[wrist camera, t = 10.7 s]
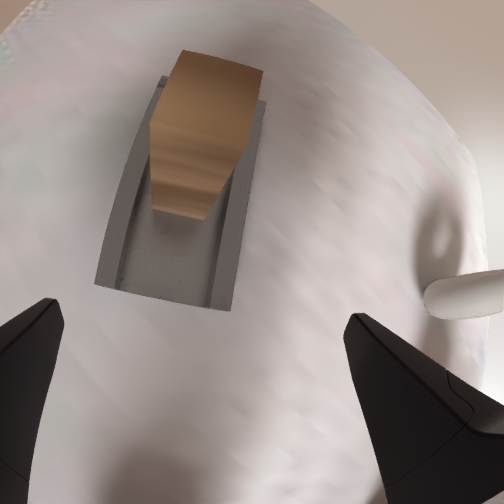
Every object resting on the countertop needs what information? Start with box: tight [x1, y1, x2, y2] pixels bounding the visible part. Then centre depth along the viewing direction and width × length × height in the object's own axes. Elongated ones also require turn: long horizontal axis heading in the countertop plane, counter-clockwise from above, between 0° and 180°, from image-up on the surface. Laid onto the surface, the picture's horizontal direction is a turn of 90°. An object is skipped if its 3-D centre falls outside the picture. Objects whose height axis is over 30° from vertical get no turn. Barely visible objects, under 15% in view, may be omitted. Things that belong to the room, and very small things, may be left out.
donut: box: [423, 269, 504, 320], centre depth 21 cm, size 10×4×10 cm, turn 94°
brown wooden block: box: [150, 50, 263, 221], centre depth 14 cm, size 4×4×10 cm
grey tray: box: [94, 76, 266, 311], centre depth 18 cm, size 15×8×2 cm, turn 170°
